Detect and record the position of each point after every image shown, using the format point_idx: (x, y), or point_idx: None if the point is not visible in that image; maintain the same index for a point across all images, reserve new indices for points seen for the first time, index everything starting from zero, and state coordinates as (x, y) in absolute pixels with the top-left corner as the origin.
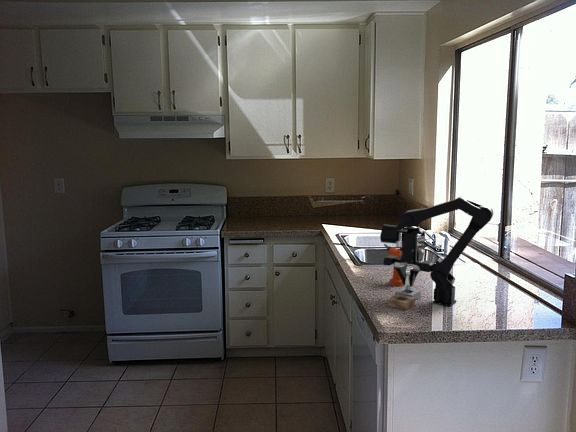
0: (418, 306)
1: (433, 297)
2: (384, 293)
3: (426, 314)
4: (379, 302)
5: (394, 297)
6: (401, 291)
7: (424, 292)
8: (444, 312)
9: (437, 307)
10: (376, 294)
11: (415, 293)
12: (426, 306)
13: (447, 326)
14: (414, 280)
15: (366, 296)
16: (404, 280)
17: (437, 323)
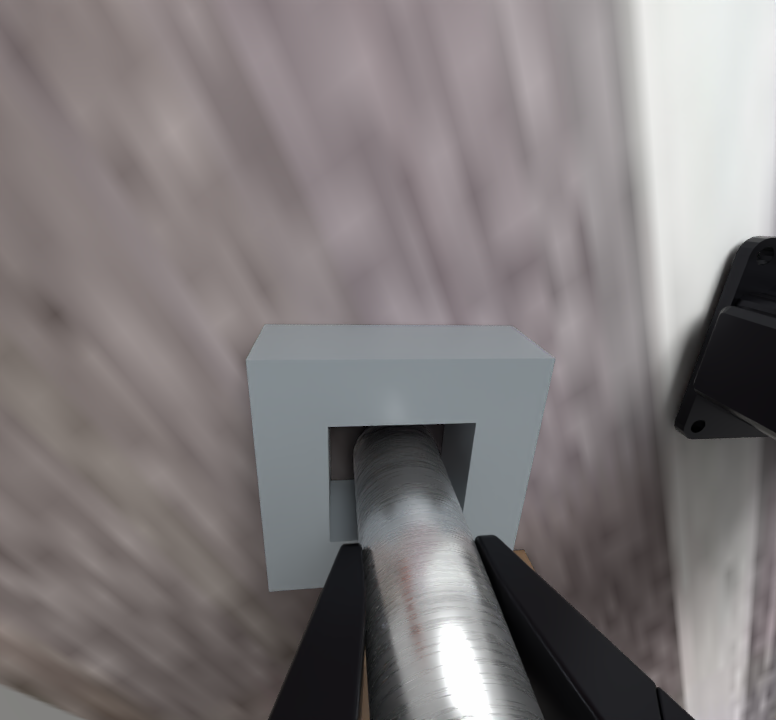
0: (561, 565)
1: (711, 397)
2: (64, 450)
3: (644, 648)
4: (233, 669)
5: (367, 707)
6: (328, 532)
7: (505, 46)
8: (766, 556)
9: (715, 498)
10: (25, 532)
11: (520, 500)
12: (623, 529)
13: (769, 704)
14: (587, 644)
15: (6, 632)
16: (362, 682)
17: (717, 705)
